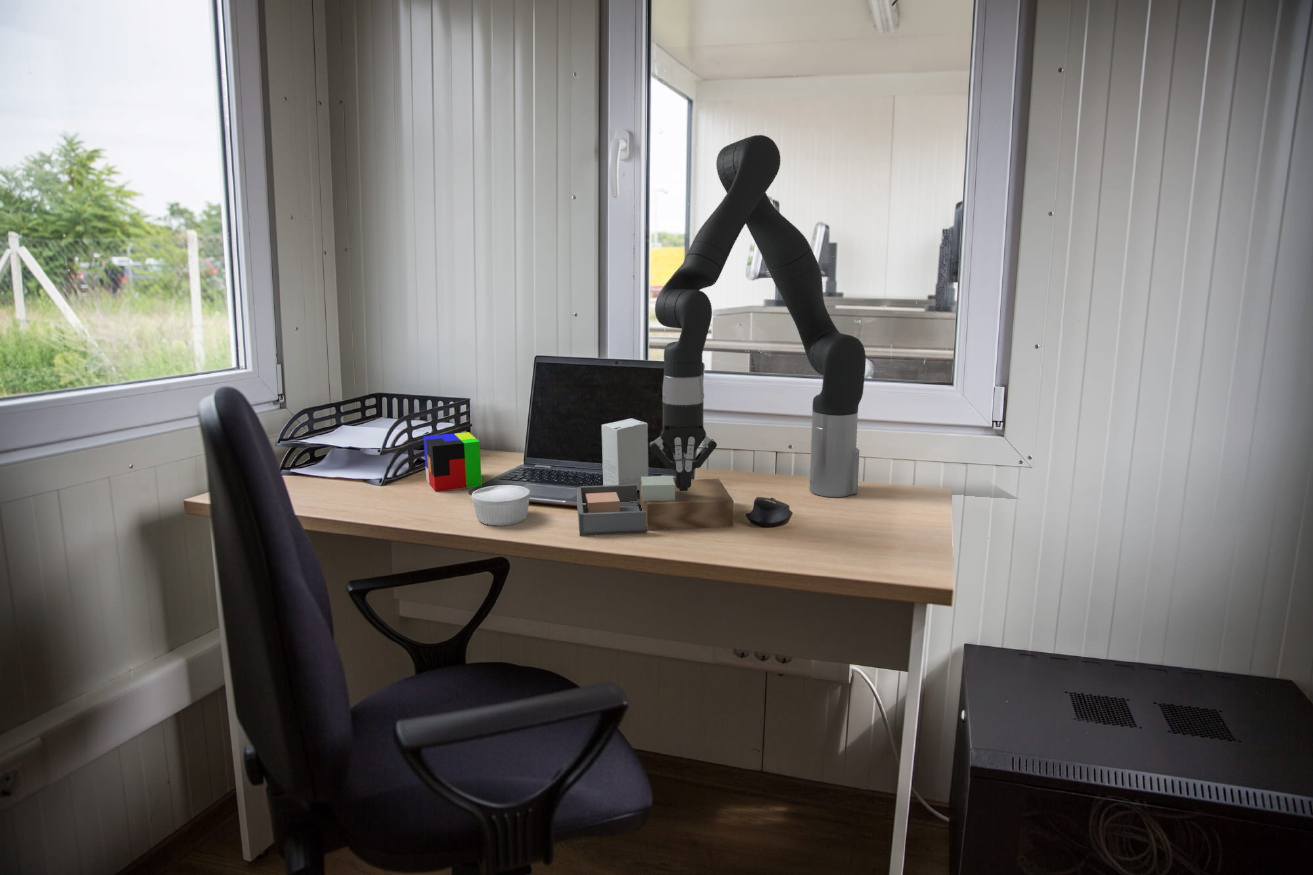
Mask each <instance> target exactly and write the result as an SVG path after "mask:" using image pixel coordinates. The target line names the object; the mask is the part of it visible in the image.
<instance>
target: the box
mask: <svg viewBox="0 0 1313 875" xmlns="http://www.w3.org/2000/svg"><path fill="white" fill-rule="evenodd" d="M608 492H616V493H617V496H618V498H619V500H620V502H630V501H637V502H638V492H637V484H633V485H606V486H603V485H584V486H583V485H581V486H576V507H577V519H578V520H577V521H578V532H579V533H578V534H579V536H580V537H583V536H584V537H585V536H586V537H587V536H607V535H610V536H612V535H633V534H646V531H647V530H646V529H647V527H646V512H645V511H641V509H640V507H639V506H640V505H639V504H629V505H638V506H625V507H620V512H603V513H587V510H586V505H583V504H582V503H586V494H589V493H608ZM631 503H633V502H631ZM625 505H626V504H625Z"/></svg>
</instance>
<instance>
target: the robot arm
mask: <svg viewBox="0 0 1313 875" xmlns="http://www.w3.org/2000/svg"><path fill="white" fill-rule="evenodd" d="M715 164H716V165H715V166H716V170H717V171H716V172H717V176H718V178H719V181H720V183H721V185H722V186H723V189H724V190H725V192H726V194H725V196H724V197H723V199H722V201H721V202H720V203H719V204H718V206H717V207H716V208H715V210H713V212H712V213H711V214H710V215H709V217H708V218H707V219H706V220H705V222H704V223H703V224H702V226H701V227H700V228H699V230H698V232H697V234H696V235H695V237H694V239H693V240H692V243H691V245H690V246H689V248H688V249H689V250H688V251H687V254H686V256H685V258H684V260H683V262H682V263H681V265H680V266H679V267H678V268H677V269H676V270H675V272H674V273H673V274H672V276H671V277H670V278H669V279H668V280H667V282H666V283H665V284H664V286H663V287H662V288H661V290H660V291H659V292H658V294H657V298H656V300H655V304H654V305H655V306H654V314H655V318H656V320H657V322H658V323H659V324H660V325H662V326H664V327H666V328H672V329H681V332H680V335H679V338H678V341H672V342H669V343H667V344H666V345H665V347H664V349H663V382H662V428H661V430H660V432H659V437H657V438H656V439H655V440H651V441H650V442H649V448H650V449H651V450H652V452H653V453H654V454H655V455H656V457H658V459H659V460H660V461H661V462H662V463H663V465H664V466H665V467H666V468H667V469H668V470H671V471H674V474H675V475H674V477H675V479H674V480H675V484H676V486H677V488H679V490H680V491H688V488H690V487H691V480H692V471H693V470H696V469H700V468H701V467H702V466H703V464H704V463H705V462H706V461H707V459H708V458H709V457H710V455H712V453H713V452H714V451H715V449H716V448H717V446H718V444H717V442H716V441H715V439H713V438H710V437H709V436H708V435H707V432H706V430H705V428H704V404H705V403H704V400H705V390H704V381H703V380H704V379H703V353H704V352H703V351H704V349H705V344H706V342H707V338H708V334H709V330H710V326H711V324H712V323H711V321H712V316H713V308H712V307H713V306H712V303H711V300H710V298H709V296H708V295H707V294H706V293H705V292H704V291H702V289H706V288H710V287H712V286H714V285H715V284H716V283H717V282H718V279H719V278H720V276H721V274H722V272H723V269H724V268H725V265H726V262H727V260H728V258H729V256H730V253H731V252H732V249H733V247H734V246H735V243H736V241H737V239H738V238H739V235H740V234H741V232H742V230H743V228H744V227H745V225H746V228H747V229H748V231H749V233H750V235H751V237H752V239H753V241H754V243H755V245H756V247H757V248H758V250H759V252H760V255H761V258H762V259H763V261H764V263H765V266H766V268H767V271H768V272H769V275H770V276H771V279H772V281H773V283H774V285H775V286H776V287H775V288H777V290H778V292H779V295H780V296H781V298H782V301H783V303H784V304H785V307H786V309H787V310H788V313H789V314H790V316H791V318H792V320H793V322H794V324H795V326H796V329H797V331H798V335H799V337H800V340H801V343H802V345H803V349H804V351H805V355H806V357H807V360H808V362H809V364H810V366H811V368H813V370H814V371H815V372H817V373H818V374H819V375H821V376H822V387H821V391H820V393H819V394H816V395H815V396H814V397H813V399H812V413H811V414H812V415H811V438H810V439H811V440H810V441H811V442H810V444H811V445H810V467H809V491H810V492H811V493H812V494H814V495H818V496H822V497H830V498H840V497H841V498H843V497H848V496H851V495H857V494H858V492H859V491H858V488H859V486H858V485H859V468H860V467H859V466H860V465H859V464H860V449H859V448H858V447H857V439H858V438H857V436H858V435H857V434H858V419H859V405H860V403H861V400H862V398H863V395H864V389H865V388H864V386H865V376H866V366H867V364H866V363H867V358H866V357H867V356H866V350H865V346H864V345H863V343H862V341H861V340H860V339H859V338H858V337H856V336H853V335H850V334H846V333H841V332H840V331H839V330H838V329H837V327H836V326H835V324H834V322H833V320H832V318H831V316H830V314H829V312H828V309H827V307H826V303H825V300H824V290H823V289H824V286H823V277H822V270H821V267H820V265H819V262H818V260H817V259H816V258H817V257H816V256H815V254H814V251H813V250H812V247H811V245H810V242H809V241H808V238H806V236H805V235H804V234H803V233H802V232H801V231H800V230H799V228H797V227H796V226H795V225H794V224H793V223H791V221H789V220H788V219H787V218H786V217H785V216H783V215H782V213H781V212H780V211H778V210H777V208H776V207H775V205H773V203H772V201H771V200H770V198H769V196H768V194H767V193H766V192H767V191H768V189H769V188H770V187H771V185H772V183H773V182H774V180H775V179H776V177H777V175H778V173H779V170H780V166H781V152H780V150H779V147H778V146H777V144H776V143H775V141H774V140H773V139H772V138H770V137H769V136H767V135H764V134H757V135H756V134H755V135H751V136H748V137H745V138H743V139H740V140H737V141H735V142H733V143H730V144H727V145H726V146H724V147H723V148H721V149H720V150H719V152H718V154H717V157H716V163H715ZM663 443H664V444H665V445H666V447H667V448H668V450H670V452H671V453H672V454H673V460H671V459H670V458H669V457H668V456H667V455H666V453H665V452H664V451H663V449H664V445H663ZM701 444H702V448H701V449H700V451H699V452H698V454H697V455H696V456H695V458H694V452H696V451H697V449H699V447H700V445H701Z"/></svg>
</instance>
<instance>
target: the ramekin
mask: <svg viewBox="0 0 1313 875" xmlns="http://www.w3.org/2000/svg"><path fill="white" fill-rule="evenodd" d="M531 497H532V496H531V491H530V489H529V488H526V487H524V486H520V485H511V484H509V485H508V484H507V485H505V484H503V485H499V484H498V485H491V486H486V487H485V486H484V487H481V488H479V489H477V490H474V491H473V492H472V493H471V500H472V502H473V507H474V513H475V517H476V519H477V520H478V521H479V522H480V523H481V522H482V523H481V524H483V523H484V525H487V524H488V525H487V526H493V525H495V527H496V525H497V527H498V526H499V527H500V526H502V527H503V526H510V525H516V524H518V523H520V522H523V521H524V520H525V519H526V518H527V516H528V512H529V506H530V498H531Z"/></svg>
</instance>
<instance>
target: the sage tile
mask: <svg viewBox="0 0 1313 875" xmlns="http://www.w3.org/2000/svg"><path fill="white" fill-rule="evenodd" d="M674 480H675V479H674V476H673V475H662V476H661V475H660V476H659V475H658V476H657V475H656V476H655V475H654V476H653V475H651V476H649V475H648V477H641V494H642V500H643V501H670V500H675V483H674Z"/></svg>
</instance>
